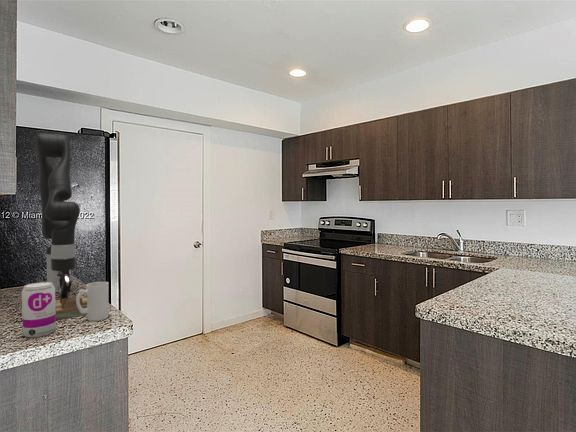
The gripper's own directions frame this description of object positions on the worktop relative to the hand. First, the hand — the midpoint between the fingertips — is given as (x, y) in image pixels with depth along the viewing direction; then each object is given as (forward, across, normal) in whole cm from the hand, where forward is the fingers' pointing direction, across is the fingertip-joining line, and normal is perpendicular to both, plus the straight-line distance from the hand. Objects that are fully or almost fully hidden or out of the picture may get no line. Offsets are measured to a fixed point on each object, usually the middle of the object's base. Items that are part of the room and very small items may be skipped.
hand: (64, 303), depth 127 cm
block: (+1, +4, +2) cm, 5 cm away
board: (+3, -1, 0) cm, 4 cm away
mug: (+3, +17, +5) cm, 18 cm away
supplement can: (+3, +20, -10) cm, 23 cm away
